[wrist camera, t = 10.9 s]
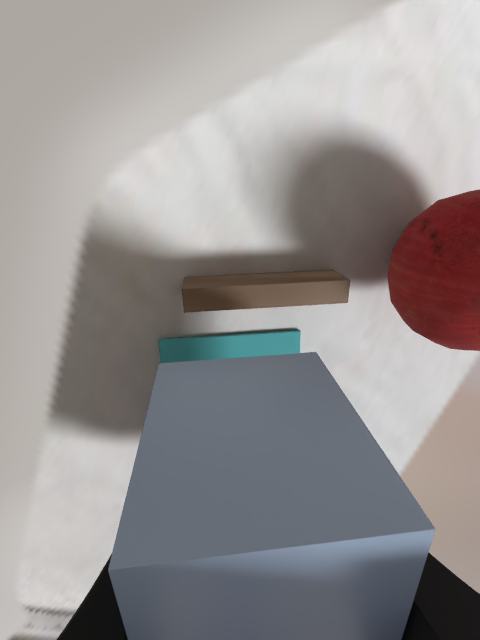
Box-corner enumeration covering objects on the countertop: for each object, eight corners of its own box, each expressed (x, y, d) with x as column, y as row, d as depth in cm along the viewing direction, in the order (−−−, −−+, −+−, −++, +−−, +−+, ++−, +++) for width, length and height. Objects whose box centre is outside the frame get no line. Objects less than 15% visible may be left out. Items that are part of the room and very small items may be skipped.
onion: (347, 212, 15) (495, 229, 7) (469, 174, 15) (744, 153, 7) (364, 326, 17) (491, 429, 9) (471, 293, 17) (684, 371, 9)
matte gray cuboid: (303, 521, 15) (369, 743, 9) (182, 536, 15) (168, 780, 9) (315, 352, 12) (435, 529, 6) (158, 363, 11) (108, 570, 5)
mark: (294, 440, 19) (295, 442, 19) (173, 452, 18) (172, 454, 18) (299, 329, 16) (300, 331, 16) (158, 339, 16) (158, 340, 16)
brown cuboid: (331, 290, 16) (347, 302, 14) (186, 298, 15) (183, 312, 13) (332, 269, 16) (350, 279, 14) (184, 277, 15) (181, 289, 13)
